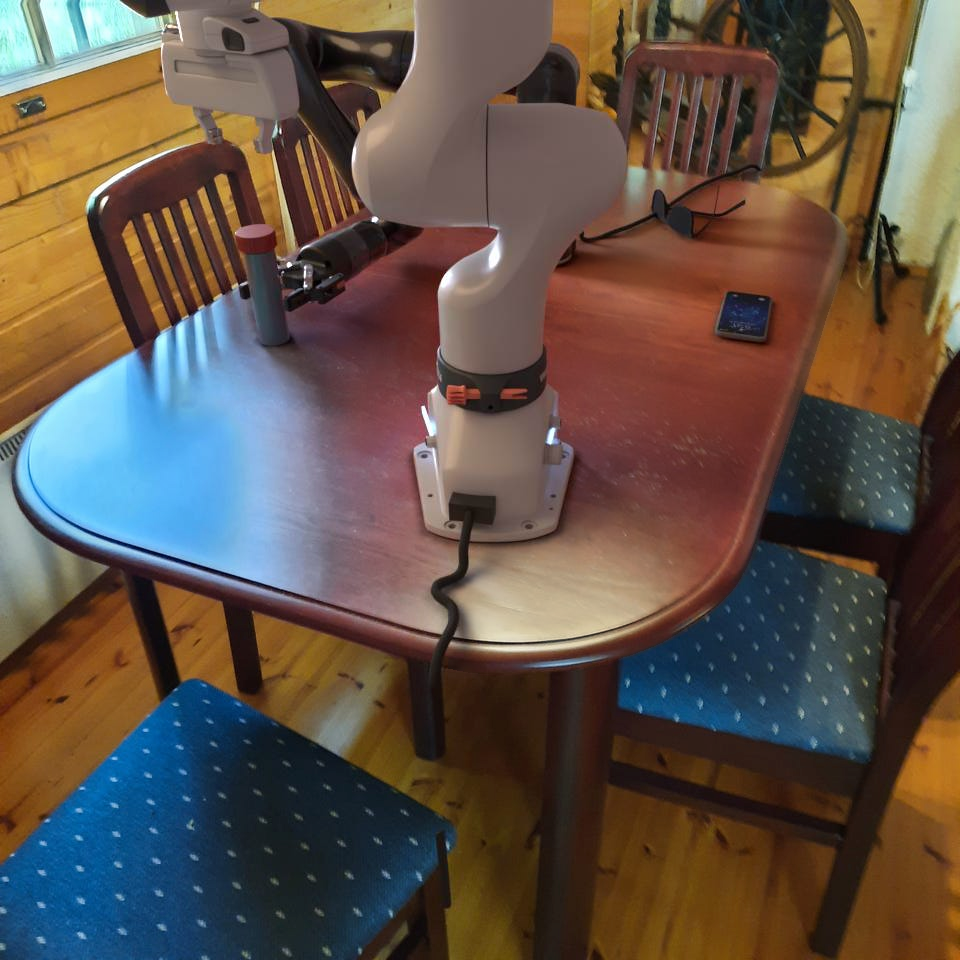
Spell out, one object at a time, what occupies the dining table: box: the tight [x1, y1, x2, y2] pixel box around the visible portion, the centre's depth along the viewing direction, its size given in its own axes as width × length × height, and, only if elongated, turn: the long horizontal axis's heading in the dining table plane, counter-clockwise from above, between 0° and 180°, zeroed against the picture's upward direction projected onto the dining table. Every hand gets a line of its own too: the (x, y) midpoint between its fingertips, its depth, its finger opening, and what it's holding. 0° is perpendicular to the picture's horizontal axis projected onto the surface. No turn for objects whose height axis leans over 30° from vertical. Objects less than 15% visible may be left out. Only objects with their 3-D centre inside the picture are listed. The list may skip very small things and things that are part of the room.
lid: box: [234, 223, 278, 254], centre depth 117 cm, size 5×5×2 cm
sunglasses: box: [649, 184, 746, 239], centre depth 159 cm, size 17×14×5 cm
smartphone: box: [714, 290, 774, 343], centre depth 128 cm, size 7×1×15 cm
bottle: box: [241, 248, 291, 347], centre depth 122 cm, size 4×4×16 cm
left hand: (239, 148), depth 110 cm, fingers open, 7 cm apart
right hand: (263, 299), depth 122 cm, fingers open, 8 cm apart
